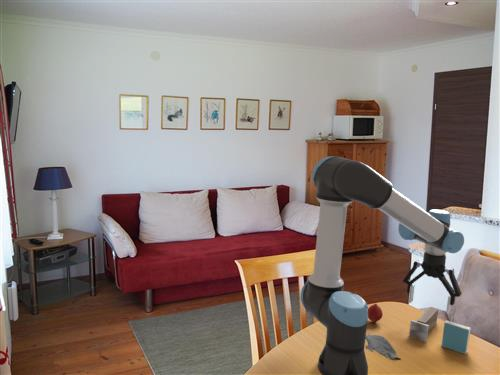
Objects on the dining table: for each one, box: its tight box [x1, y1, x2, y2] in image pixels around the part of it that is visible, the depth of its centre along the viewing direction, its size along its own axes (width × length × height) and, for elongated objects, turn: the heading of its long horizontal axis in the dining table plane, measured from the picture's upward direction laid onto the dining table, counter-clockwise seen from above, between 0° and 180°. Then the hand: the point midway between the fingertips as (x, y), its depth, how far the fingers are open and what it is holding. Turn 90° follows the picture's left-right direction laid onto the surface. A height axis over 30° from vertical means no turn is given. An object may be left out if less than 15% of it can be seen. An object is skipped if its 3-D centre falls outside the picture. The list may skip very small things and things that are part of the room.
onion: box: [368, 303, 384, 324], centre depth 171 cm, size 6×6×8 cm
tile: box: [441, 320, 472, 355], centre depth 154 cm, size 8×2×9 cm, turn 52°
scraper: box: [408, 306, 439, 343], centre depth 167 cm, size 6×18×6 cm, turn 142°
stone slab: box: [365, 334, 400, 360], centre depth 155 cm, size 18×2×10 cm
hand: (429, 306), depth 166 cm, fingers open, 13 cm apart
